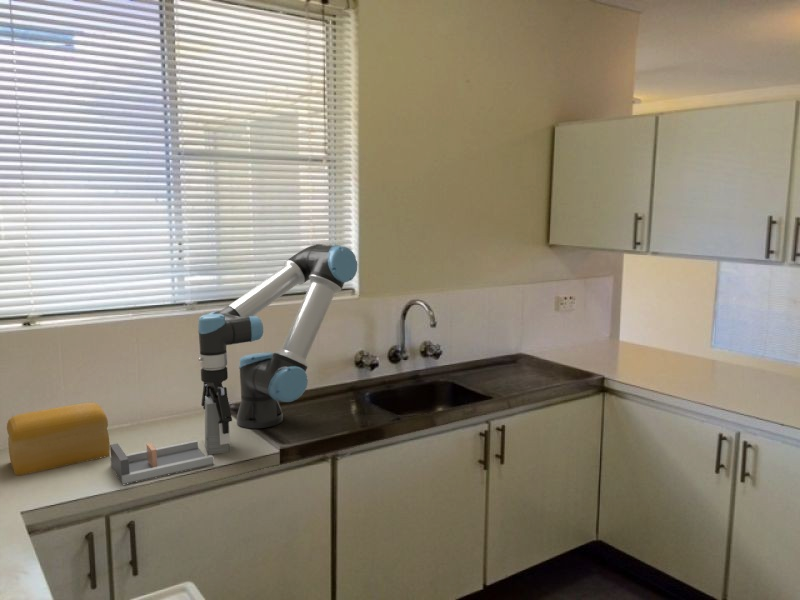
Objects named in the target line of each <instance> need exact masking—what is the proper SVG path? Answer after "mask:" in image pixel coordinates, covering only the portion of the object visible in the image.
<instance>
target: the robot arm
mask: <svg viewBox="0 0 800 600" xmlns="http://www.w3.org/2000/svg"><path fill="white" fill-rule="evenodd" d="M357 273H358V261H357V258H356V255H355V253H354V252H353V251H352V249H351V248H348V247H347V246H345V245H338V244H335V245H333V244H332V245H331V244H330V245H329V244H313V245H310V246H307V247H305V248H304V249H302V250H300V251H298V252H297V253H296V254H294V255H293V256H291V257H290V258H288V259H287V260H286V261H284V263H283V266H282V267H281V268H279V269H278V270H276V271H275V272H273V273H272V274H271V275H270V276H268V277H267V278H266V279H263V280H262V281H261V282H259V284H257V285H255V286H254V287H252V288H251V289H250V290H248V291H247V292H246V293H245V294H243V295H242V296H240V297H239V298H237V299H235V300H234V301H233V302H231V303H230V304H229V305H228V306H226V307H225V308H222V310H220V311H219V310H217V311H211V312H210V313H208V314H207V313H206V314H203V315H201V316H200V317H199V318H198V331H197V333H198V341H199V358H198V361H199V362H200V367H201V369H200V380H201V382H202V383H203V389H202V397H201V407H202V408H203V412H204V416H205V396H207V397H208V396H210V397H211V398H212V399H213V402H214V403H216V408H217V411H218V415H219V418H220V421H218V424H219V432H220V444H221V445H223V444H227V443H229V444H231V436H230V435H231V433H230V431H231V430H230V422H233V418H232V412H231V407H230V401H229V397H228V389H227V387H225V386H223V382H225V381H227V380H228V378H229V375H228V366H227V365H228V353H227V346H231V345H236V344H243V343H252V342H255V341H258V340H260V339H261V338H262V337H263V335H264V325H263V322H262V320H261V318H260V317H258V316H257V314H259V313H260V312H262V310H264V309H265V308H267V307H268V306H270V305H271V304H273V302H275V301H277V300H278V299H280V298H281V297H282V296H283V295H285V294H286V293H288V292H289V291H290V290H292V289H293V288H294V287H296V286H297V285H303V284H304V283H306V282H308V281H309V282H310V284H309V287H308V289H307V291H306V293H305V295H304V297H303V300H302V302H301V304H300V306H299V308H298V311H297V313H296V314H295V318H294V320H293V321H292V323H291V326H290V329H289V331H288V332H287V334H286V337H285V339H284V341H283V344H282V346H281V348H280V349H279V350H276V351H274V352H260V353H251V354H246V355H243V356H241V358H240V359H239V365H238V369H239V381H240V398H241V399H240V404H239V407H238V411H237V414H236V424H237V426H239V427H241V428H246V429H264V428H271V427H274V426H277V425H279V424H281V423H282V422H283V420H284V418H283V417H284V414H283V411H282V408H281V405H280V403H279V402H283V403H291V402H294V401H296V400H298V399H299V398H300V397H302V395H303V394H304V393H305V391H306V390H307V387H308V383H309V382H308V381H309V379H308V374H307V373H306V371H307V369H308V367H309V365H308V363H307V361H306V360H307V358H308V355H309V353H310V350H312V349H311V348H312V346H313V344H314V341H315V340H316V337H317V335H318V334H319V333H318V332H319V331H320V328H321V326H322V324H323V321H324V318H326V317H325V316H326V315H327V312H328V310H329V307H330V305H331V303H332V300H333V298H334V296H335V294H337V293H339V292H342V290H343V287H344V285H345V283H348V282H350V281H352V280H353V279H354V278H355V276H356V274H357ZM228 401H229V402H228ZM225 417H226V418H225Z"/></svg>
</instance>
